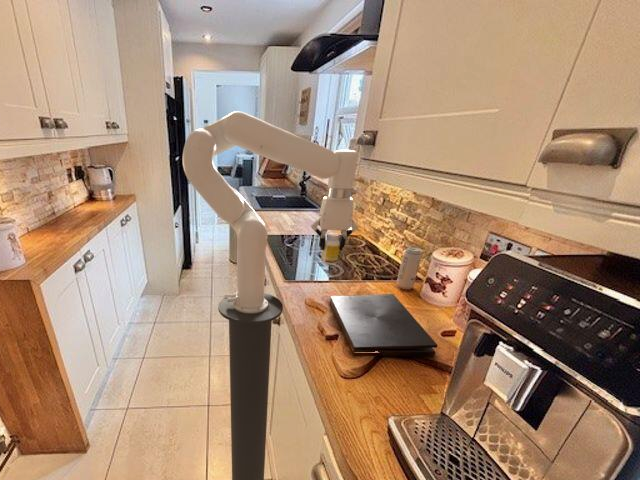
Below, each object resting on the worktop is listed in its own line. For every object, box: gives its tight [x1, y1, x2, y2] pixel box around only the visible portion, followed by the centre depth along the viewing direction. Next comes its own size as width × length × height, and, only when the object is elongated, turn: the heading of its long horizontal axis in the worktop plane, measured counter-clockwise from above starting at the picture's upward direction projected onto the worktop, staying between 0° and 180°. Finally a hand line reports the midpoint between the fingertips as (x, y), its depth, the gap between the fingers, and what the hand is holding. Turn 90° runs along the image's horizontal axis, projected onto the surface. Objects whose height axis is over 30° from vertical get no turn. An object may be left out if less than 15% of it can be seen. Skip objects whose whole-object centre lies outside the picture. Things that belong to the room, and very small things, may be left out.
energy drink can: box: [396, 246, 423, 290], centre depth 121 cm, size 6×6×15 cm
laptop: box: [329, 298, 437, 358], centre depth 98 cm, size 21×30×2 cm
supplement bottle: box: [320, 232, 340, 265], centre depth 110 cm, size 5×5×10 cm
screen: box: [330, 293, 439, 350], centre depth 98 cm, size 21×30×1 cm
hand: (331, 248), depth 110 cm, fingers closed on supplement bottle, 5 cm apart
